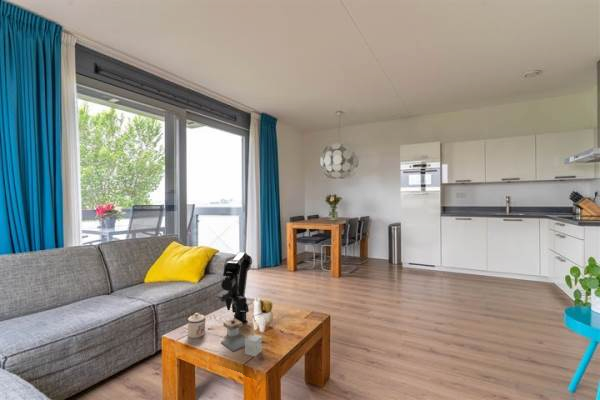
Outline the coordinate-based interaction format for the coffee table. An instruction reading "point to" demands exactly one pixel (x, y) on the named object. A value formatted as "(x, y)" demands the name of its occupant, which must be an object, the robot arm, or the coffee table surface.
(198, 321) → the teacup with lid
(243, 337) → the mat
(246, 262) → the robot arm
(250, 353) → the skincare box
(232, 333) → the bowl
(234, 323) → the lid
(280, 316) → the coffee table surface
